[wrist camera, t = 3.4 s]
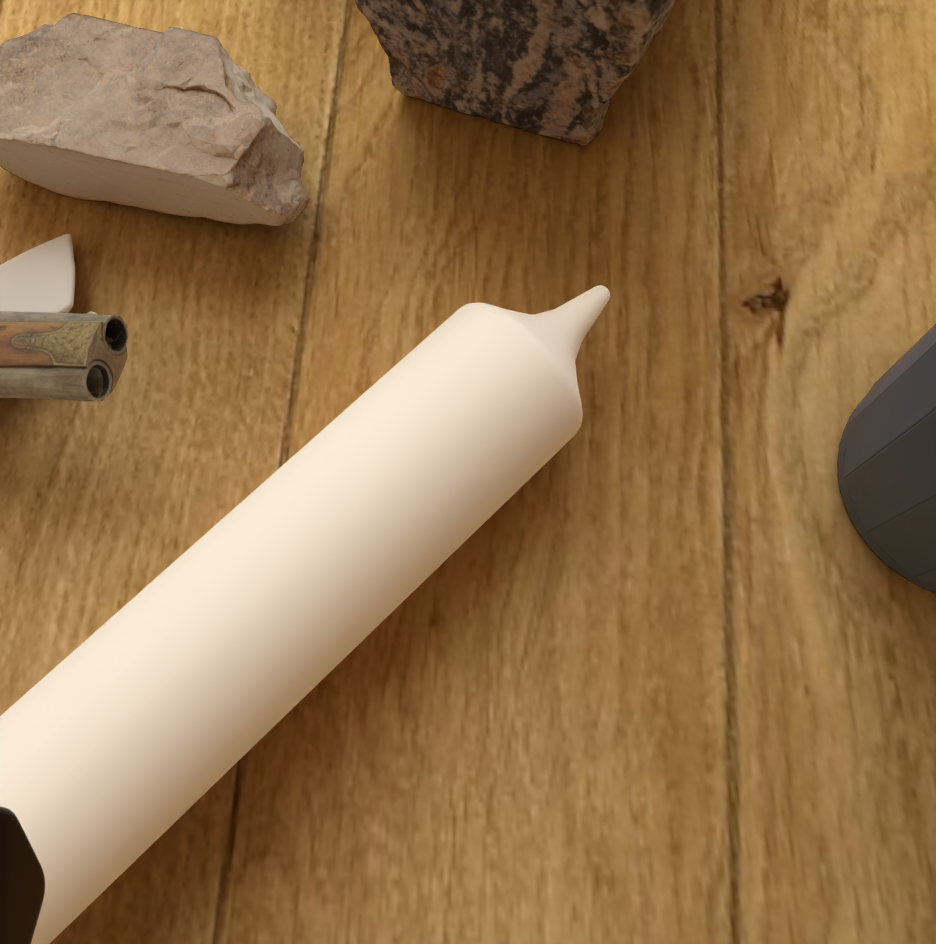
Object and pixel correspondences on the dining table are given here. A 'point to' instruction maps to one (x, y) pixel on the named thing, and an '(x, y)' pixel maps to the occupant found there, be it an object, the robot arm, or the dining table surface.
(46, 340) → the flintlock pistol
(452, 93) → the stone block
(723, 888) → the dining table surface
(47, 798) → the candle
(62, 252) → the kitchen knife
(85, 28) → the stone
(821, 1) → the dining table surface
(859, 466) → the jar
